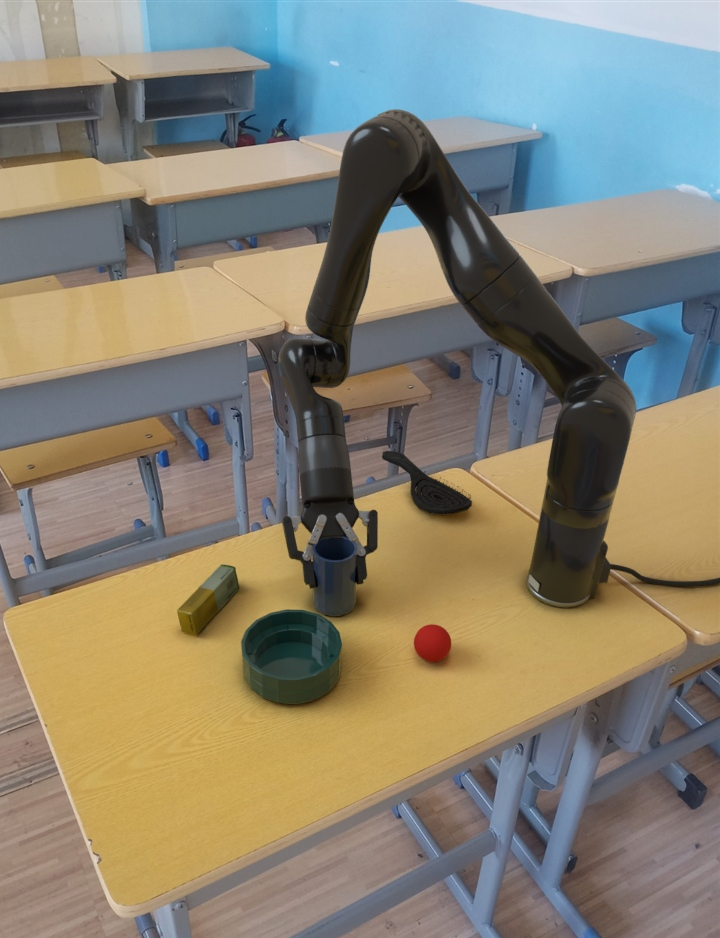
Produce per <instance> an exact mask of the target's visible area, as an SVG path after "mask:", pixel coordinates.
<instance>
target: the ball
mask: <svg viewBox="0 0 720 938" xmlns="http://www.w3.org/2000/svg"><path fill="white" fill-rule="evenodd" d="M413 646H414V650H415V652H416V654H417V656H419V657H420V658H421V659H422V660H424V661H426V662H429V663H430V662H431V663H435V662H436V663H437V662H440V661H442V660H444V659H445V658H446V657H447V656H448V655H449V654H450V652H451V649H452V639H451V635H450V633H449V632H448V631H447V629H445V628H444V627H443V626H441V625H438V624H435V623H434V624H433V623H430V624H426V625H423V626H422V627H421V628H419V629H418V630H417V631H416V633H415V636H414V638H413Z"/></svg>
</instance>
